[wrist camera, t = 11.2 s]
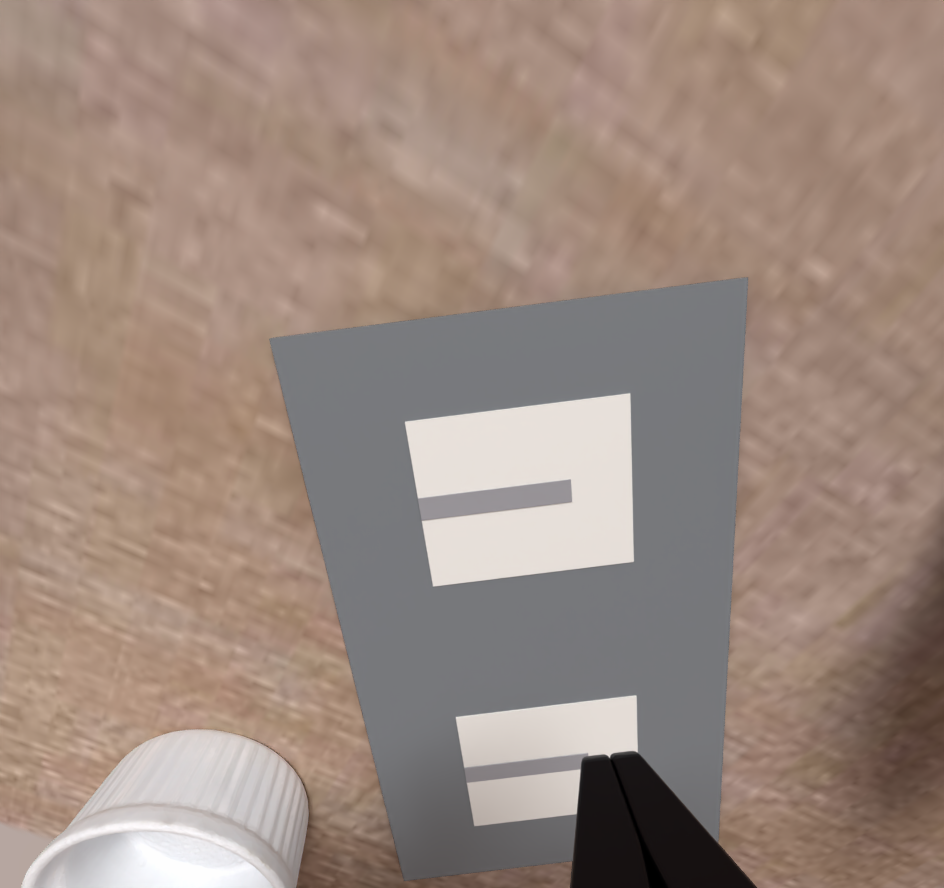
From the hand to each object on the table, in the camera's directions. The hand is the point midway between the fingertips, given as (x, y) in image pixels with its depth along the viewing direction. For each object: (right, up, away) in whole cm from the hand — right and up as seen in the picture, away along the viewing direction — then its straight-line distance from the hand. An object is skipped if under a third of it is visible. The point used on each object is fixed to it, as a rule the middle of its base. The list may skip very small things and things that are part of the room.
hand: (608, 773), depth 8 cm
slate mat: (0, -2, +11) cm, 12 cm away
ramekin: (-13, -10, +14) cm, 21 cm away
